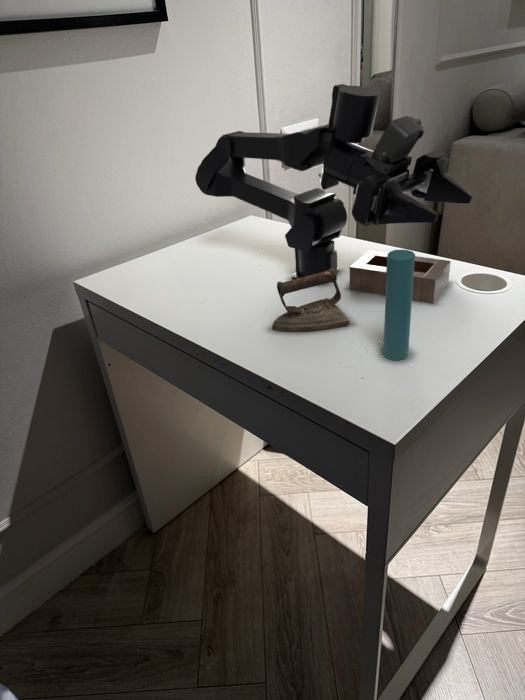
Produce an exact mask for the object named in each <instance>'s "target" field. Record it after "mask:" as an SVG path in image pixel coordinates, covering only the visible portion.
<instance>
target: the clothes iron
mask: <svg viewBox="0 0 525 700" xmlns="http://www.w3.org/2000/svg"><path fill="white" fill-rule="evenodd" d="M337 279H338V276H337V273H336V272H335V270H334V268H331V269H329V270H328V271H325V272H321V273H317V274H313V275H310V276H306V277H302V278H298V279H290V280H287V281H281V280H280V281H277V282H276V290H277V292H278V296H279V298H280V302H281V304H282V305H283V308H284V309H285V310H286V312H284V313H283V314H280V315H279V316H277V317H276V319H275V320H274V321H273V324H272V325H271V329H272V330H274V331H279V332H288V333H289V332H290V333H293V332H294V333H301V332H305V333H306V332H315V331H316V332H317V331H324V330H331V329H336V328H341V327H342V328H343V327H347V326H349V325H350V324H351V321H350V319H349V318H348V317H347V316H346V315H345V313H344V312H343V311H342V310H341V309H340V308H339V306H337V305H336V304H338V303H339V302H340V300H342V293H341V291H340V288H339V284H338V283H337ZM329 283H332V284H333V286H334V289H335V294H334V295H333V296H332V297H330V298H329V297H326V298H321V299H318V300H315V301H311V302H308V303H306V304H302V305H299V306H297V305H286V302H285V299H284V296H285V295H287V294H291V293H294V292H299V291H302V290H306V289H311V288H314V287H318V286H322V285H326V284H329Z"/></svg>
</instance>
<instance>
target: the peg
mask: <svg viewBox="0 0 525 700" xmlns="http://www.w3.org/2000/svg"><path fill="white" fill-rule="evenodd" d="M387 253H388V254H387V272H386V295H385V299H384V322H383V323H384V325H383V326H384V327H383V351H382V353H383V356H384V357H385V358H386V359H388V360H391V361H402V360H405V359H406V358H408V356H409V349H410V347H409V346H410V334H411V316H412V307H413V306H412V304H413V300H412V292H413V278H414V263H415V256H416V253H415V252H414V251H412V250H409V249H393V250H391V251H389V252H387Z"/></svg>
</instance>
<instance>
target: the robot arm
mask: <svg viewBox="0 0 525 700" xmlns="http://www.w3.org/2000/svg"><path fill="white" fill-rule="evenodd" d="M380 96H381V91H380V90H379V89H377V88H376V87H373V86H369V85H365V86H362V85H360V86H359V85H347V84H344V83H339V84H336V85H333V87H332V92H331V105H330V111H329V112H330V113H329V119H328V124H324V125H323V124H322V125H318V126H314V127H309V128H306V129H301V130H298V131H294V132H289V133H280V132H247V131H246V132H245V131H242V130H237V131H234V132H230V133H225V134H223V135H221V136H219V138H218V139H217V141H216V144H215V145H214V147H213V148H212V149H211V150H210V151H209V152H208V153H207V154H206V156H205V157H204V158H203V159H202V160H201V162H200V164H198V167H197V169H196V172H195V178H194V179H195V184H196V186H197V187H198V189H199V191H200V192H201V193H202V194H203V195H206V196H210V197H216V198H219V197H220V198H222V197H223V198H225V197H226V198H228V197H230V198H234V199H237V200H239V201H240V200H241V201H242V202H245V203H247V204H249V205H251V206H254V207H256V208H258V209H261V210H263V211H265V212H267V213H270V214H272V215H274V216H277V217H278V218H282V219H284V220H286V221H287V222H288V223H289V225H290V228H289V229H288V231H287V232H286V233H285V234H284V239H285V241H286V244H287V247H288V248H291V249H294V261H295V272H294V273H293V274H291V280H294V279H298V278H302V277H306V276H310V275H313V274H317V273H321V272H325V271H328V270H329V269H331V268H334V270H335V272H336V274H337V273H339V272H340V268H339V267H338V251H337V249H336V248H335V240H334V239H338V238H340V237H341V235H342V232H343V229H344V228H345V226H346V224H347V221H348V213H347V209H346V207H345V204H344V202H343V201H342V200H341V199H340V198H338V197H336V196H337V193H335V192H332V193H331V192H328V191H325V190H328V189H331V188H333V187H335V186H338V185H339V183H341V184H344V185H346V186H348V187H350V188H352V189H353V191H352V195H354V199H353V204H352V209H351V215H352V217H353V219H354V222H355V223H358V224H360V225H362V226H364V227H365V228H367V227H369V226H371V225H373V226H379V225H391V224H393V225H394V224H415V223H417V224H418V223H419V224H420V223H424V224H425V223H436V222H437V221H438V220H437V219H438V217H439V214H438V213H437V212H436V211H435V210H433V209H432V208H430V207H429V206H427V205H425V204H423V203H422V202H420V201H419V200H417V199H415V198H418V199H423V201H424V202H433V203H435V202H436V203H448V204H449V203H451V204H471V202H472V200H473V195H472V194H471V193H470V192H469V191H468V190H467V189H466V188H464V187H463V185H461V184H460V183H459V182H458V181H457V180H455V178H453V176H451V175H450V173H449V172H448V167H447V165H448V160H447V159H448V154H447V153H445V152H442V151H440V150H437V149H435V150H433V151H430V152H427V153H425V154H423V155H421V156H419V157H418V158H416V161H415V164H414V166H413V170H412V173H410V169H408V168H409V167H410V166H411V164H412V161H413V157H412V156H410V155H409V154H410V153H411V152H412V150H413V149H414V147H415V145H416V144H417V142H418V141H419V139H421V138H422V137H423V136H424V133H425V130H424V127H423V125H422V120H421V119H420V118H415V117H413V116H409V115H405V116H402V117H399V118H395V119H393V120H392V121H391V122H389V123H388V125H387V126H386V128H385V129H384V132H383V133H382V135H381V137H380V138H379V140H378V141H377V144H376V145H375V147H374V150H371V149H369V148H367V147H365V146H361V145H358V144H360V143H363V142H364V138H369V137H370V136H372V134H373V130H374V124H375V120H376V114H377V110H378V106H379V101H380ZM246 159H255V160H270V161H277V162H281V163H282V164H283V166H285V167H286V168H289V169H293V170H296V171H299V172H306V171H309V170H311V169H314V168H317V167H320V166H322V171H321V172H319V173H318V177H319V180H320V181H319V182H320V186H321V188H319V187H314V188H311V189H309V190H306V191H303V192H300V193H297V192H294V191H292V190H290V189H287V188H284V187H281V186H279V185H277V184H274V183H271V182H269V181H266V180H263V179H262V178H258V177H256V176H253V175H250V174H248V173H247V172H246V170H245V168H246V166H247V160H246ZM409 193H411V196H413V197H415V198H413V197H411V196H410V195H408V194H409Z"/></svg>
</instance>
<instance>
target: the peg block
mask: <svg viewBox="0 0 525 700" xmlns="http://www.w3.org/2000/svg"><path fill="white" fill-rule="evenodd" d="M388 253H389V252H385V251H378V250H372V249H369V250H367V251H366V252H365V253H364V254H363V255H361V256H360V257H359V258H358V259H357V260H355V261H354V262H353V263H352V264H351V265H350V266H349V290H353V291H354V290H355V291H358V292H364V293H371V294H375V295H381V296H386V272H387V254H388ZM451 263H452V262H451V260H447V259H440V258H433V257H424V256H417V255H415V263H414V278H413V292H412V301H416V302H422V303H427V304H434V303H435V302H436V300H437V299H439V298H438V297H440V295H441V294H442V293H443V291H444V290H445V289H446V287H447V286H448V285H449V282H450V281H449V279H450V271H451V270H450V269H451Z"/></svg>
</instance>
